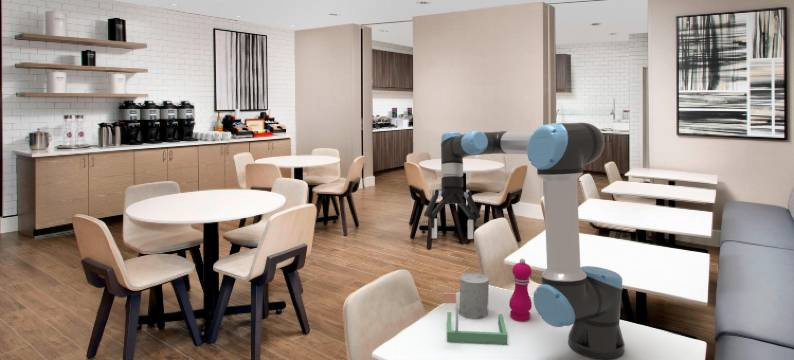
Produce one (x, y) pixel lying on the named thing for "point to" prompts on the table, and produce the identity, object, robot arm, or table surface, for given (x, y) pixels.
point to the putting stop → (471, 335)
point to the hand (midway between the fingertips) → (452, 238)
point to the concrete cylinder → (474, 295)
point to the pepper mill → (521, 292)
